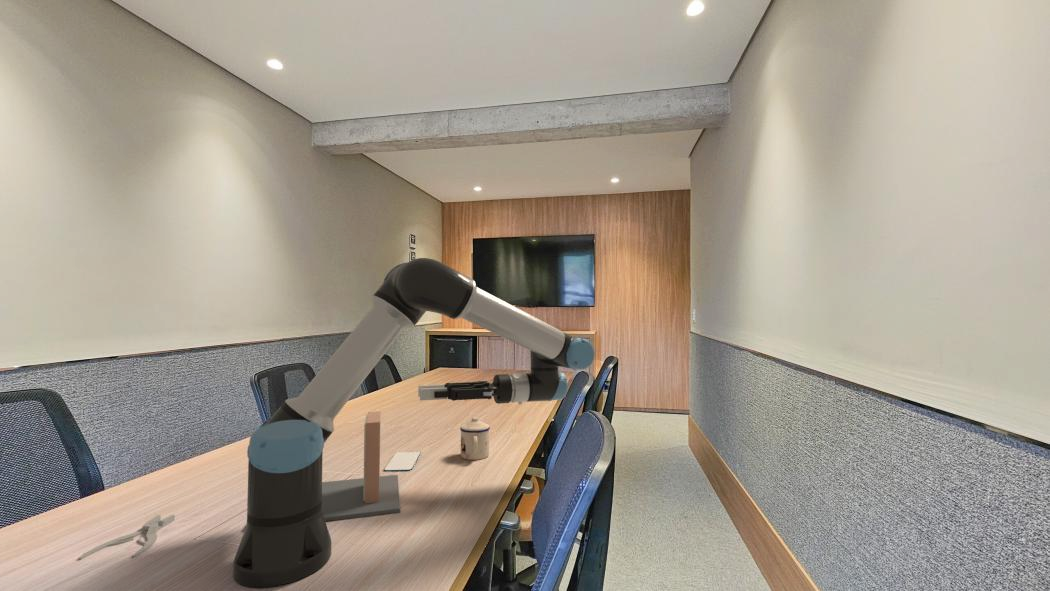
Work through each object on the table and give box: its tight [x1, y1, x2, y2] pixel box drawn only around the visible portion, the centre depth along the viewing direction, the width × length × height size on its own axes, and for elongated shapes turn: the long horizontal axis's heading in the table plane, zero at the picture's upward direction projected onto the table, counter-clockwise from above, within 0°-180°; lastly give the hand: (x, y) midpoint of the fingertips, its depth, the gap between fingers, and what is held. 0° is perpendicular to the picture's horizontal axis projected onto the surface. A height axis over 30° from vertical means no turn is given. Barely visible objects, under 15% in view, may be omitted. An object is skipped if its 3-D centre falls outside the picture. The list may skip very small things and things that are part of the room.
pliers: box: [77, 514, 176, 561], centre depth 88 cm, size 10×2×15 cm
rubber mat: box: [244, 474, 401, 529], centre depth 105 cm, size 22×30×1 cm
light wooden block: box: [363, 410, 382, 503], centre depth 108 cm, size 12×3×18 cm, turn 17°
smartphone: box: [383, 451, 422, 472], centre depth 133 cm, size 8×1×16 cm
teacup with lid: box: [459, 416, 491, 461], centre depth 138 cm, size 12×9×12 cm
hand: (419, 392), depth 112 cm, fingers open, 4 cm apart
